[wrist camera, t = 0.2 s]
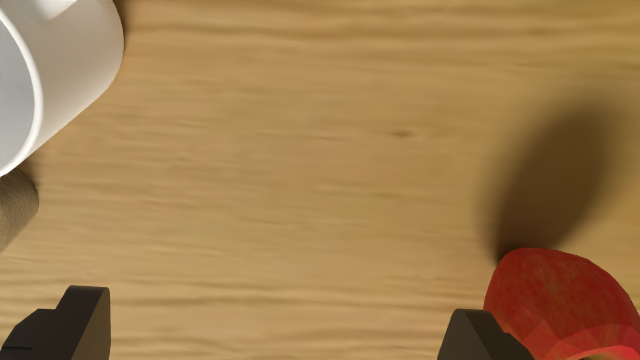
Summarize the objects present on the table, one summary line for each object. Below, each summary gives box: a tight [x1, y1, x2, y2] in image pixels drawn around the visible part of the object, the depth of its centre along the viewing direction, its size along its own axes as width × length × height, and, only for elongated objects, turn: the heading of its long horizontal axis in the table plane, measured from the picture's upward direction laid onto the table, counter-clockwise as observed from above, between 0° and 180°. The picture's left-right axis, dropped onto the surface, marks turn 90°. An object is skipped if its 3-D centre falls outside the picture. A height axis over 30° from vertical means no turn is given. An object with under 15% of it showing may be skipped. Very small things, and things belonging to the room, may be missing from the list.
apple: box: [483, 247, 640, 360], centre depth 29 cm, size 9×8×11 cm
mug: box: [0, 0, 124, 177], centre depth 20 cm, size 12×8×10 cm
